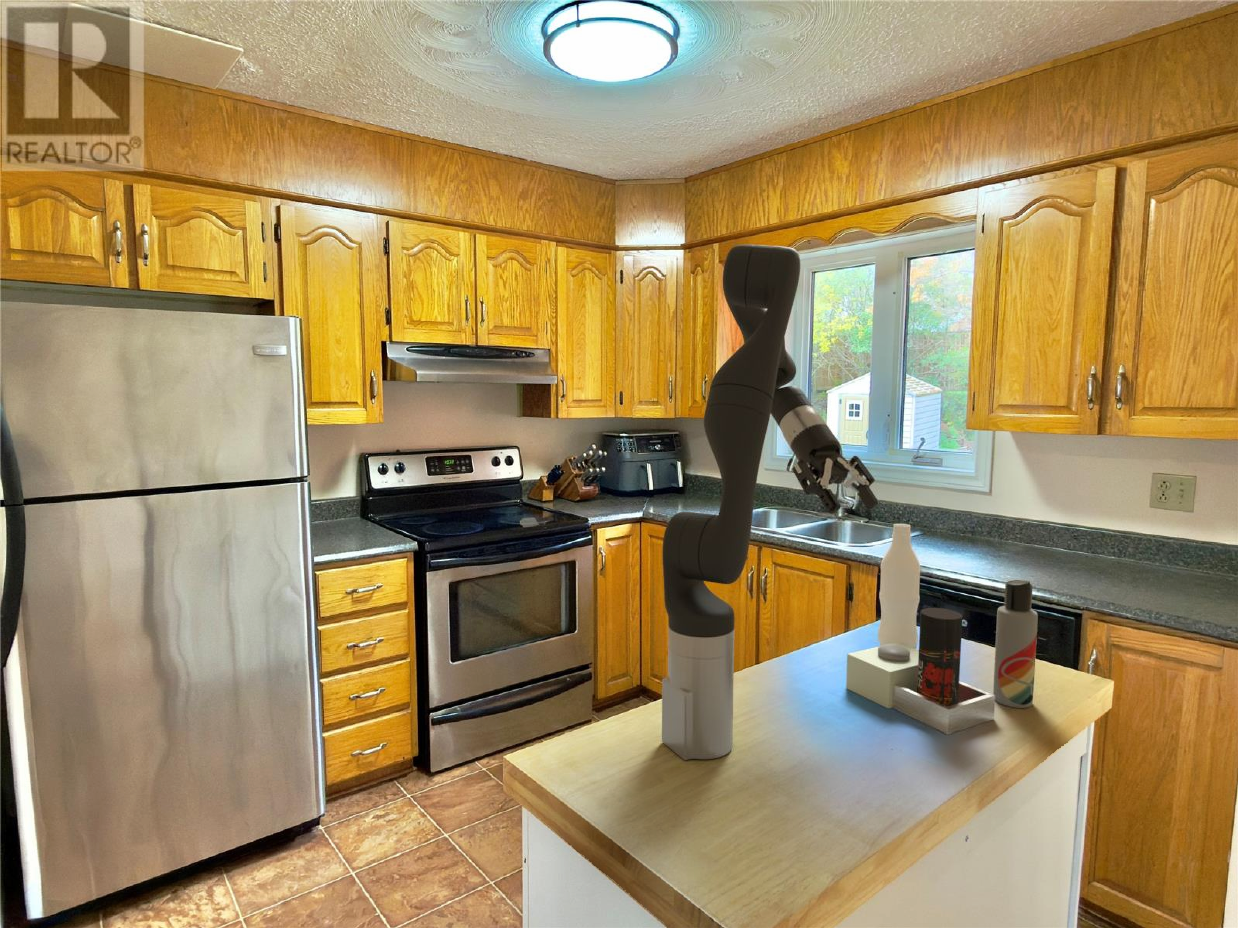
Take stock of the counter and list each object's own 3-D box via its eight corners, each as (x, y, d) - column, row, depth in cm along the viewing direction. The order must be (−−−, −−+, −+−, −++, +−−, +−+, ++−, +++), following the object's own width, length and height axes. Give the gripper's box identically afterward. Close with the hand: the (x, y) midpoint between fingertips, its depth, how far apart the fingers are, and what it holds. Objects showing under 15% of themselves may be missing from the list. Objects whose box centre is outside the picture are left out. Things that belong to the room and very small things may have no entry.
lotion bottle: (1029, 712, 112) (1037, 587, 110) (989, 702, 115) (996, 581, 114) (1035, 699, 117) (1042, 579, 115) (996, 691, 120) (1002, 574, 118)
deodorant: (908, 701, 114) (912, 609, 113) (938, 696, 116) (942, 606, 114) (935, 717, 108) (939, 621, 107) (966, 711, 110) (971, 617, 109)
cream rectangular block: (888, 708, 113) (890, 666, 113) (846, 688, 121) (847, 648, 121) (939, 693, 119) (941, 653, 118) (895, 675, 127) (897, 636, 126)
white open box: (947, 734, 105) (948, 709, 104) (891, 707, 114) (892, 684, 113) (993, 719, 110) (995, 695, 109) (936, 694, 119) (937, 672, 118)
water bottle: (905, 662, 133) (910, 530, 130) (870, 652, 138) (874, 524, 136) (924, 653, 137) (929, 525, 135) (889, 643, 143) (894, 520, 140)
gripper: (788, 423, 122) (835, 498, 113) (849, 421, 128) (899, 492, 120) (767, 452, 127) (811, 526, 118) (827, 449, 134) (873, 518, 125)
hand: (855, 509), depth 119 cm, fingers open, 8 cm apart
